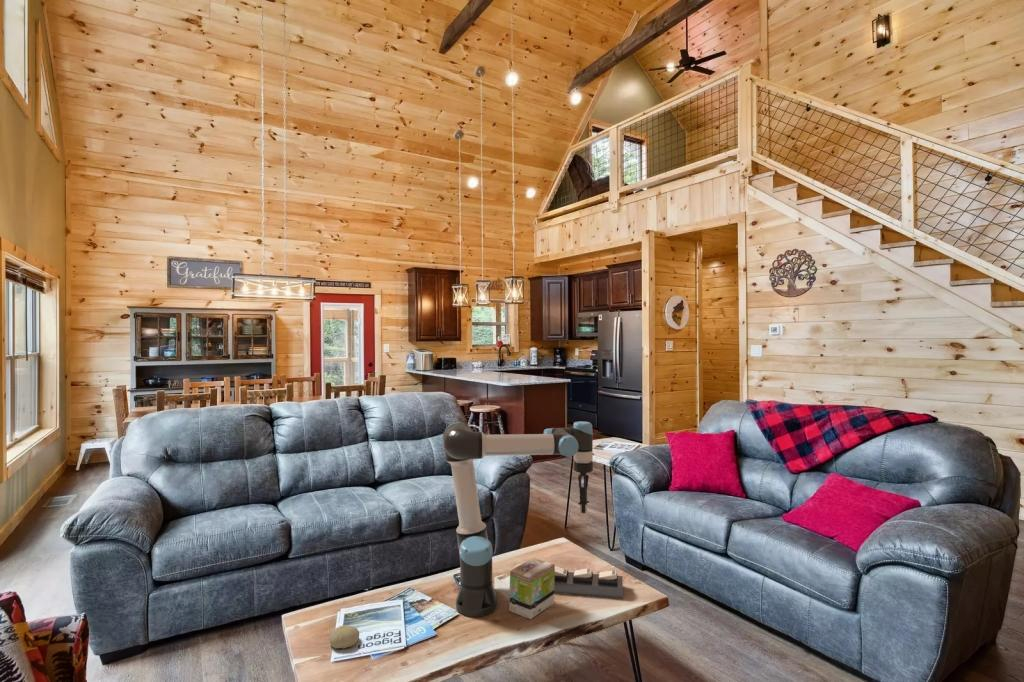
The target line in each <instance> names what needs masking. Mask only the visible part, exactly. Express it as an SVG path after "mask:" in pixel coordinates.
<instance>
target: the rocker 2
mask: <svg viewBox="0 0 1024 682" xmlns="http://www.w3.org/2000/svg"><path fill="white" fill-rule="evenodd" d="M574 571H575V572H574ZM574 571H573V572H574V577H580V578H588V577H591V576H592V572H593V571H592V568H591V567H588V568H581V569H577V570H575V569H574Z"/></svg>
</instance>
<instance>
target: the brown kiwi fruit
mask: <svg viewBox="0 0 1024 682" xmlns="http://www.w3.org/2000/svg"><path fill="white" fill-rule="evenodd" d="M359 639H360V630H359V629H358V628H356V627H354V626H352V625H347V624H346V625H345V624H342V625H340V626H337V627H336V628H335V629H333V630H332V631H331V632H330V634H329V644H330V645H331V647H332V648H334V647H335V648H334V649H336V648H342V649H346V648H345V647H349V646H351V647H353V646H354V645H355V644H356V643H357V642H358V640H359ZM352 645H353V646H352ZM349 648H350V647H349Z"/></svg>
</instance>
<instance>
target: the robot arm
mask: <svg viewBox="0 0 1024 682" xmlns="http://www.w3.org/2000/svg"><path fill="white" fill-rule="evenodd" d="M442 434H443V435H442V441H443V448H444V453H445V460H446V462H447V463H448V464H449V465H450V467H451V474H452V483H453V489H454V495H455V502H456V503H455V504H456V510H457V517H458V526H457V528H456V529H455V530H456V531H455V532H456V539H457V540H456V541H457V548H458V553H459V565H460V566H459V568H460V571H459V572H460V574H459V575H460V578H459V579H460V586H459V590H458V591H457V592H458V593H457V596H456V599H455V610H456V611H457V612H458V614H461V615H463V616H466V617H472V618H473V617H477V618H478V617H484V616H488V615H491V614H493V613H494V612H495V611H496V610H497V609H498V603H499V602H498V597H497V593H496V591H495V587H494V585H493V584H494V583H493V582H494V581H493V554H494V552H493V551H494V549H493V545H492V542H491V541H490V540H489V538H488V537H489V536H488V531H487V524H486V523H485V522H484V521H482V515H481V509H480V503H479V495H478V487H477V480H476V474H475V472H476V471H475V467H474V465H475V463H474V460H479V459H484V458H485V457H487V456H488V457H491V456H494V457H495V456H537V455H540V456H545V455H548V456H549V455H551V456H552V455H553V456H554V455H561V456H563V457H566V458H569V457H573V460H574V461H573V471H574V472H576V473H579V474H578V476H577V480H578V487H579V502H578V503H577V504H578V505H579V518H580V519H579V520H580V521H582V522H583V521H585V522H587V521H588V504H590V503H589V502H590V501H589V500H588V487H589V477H590V476H589V473H592V472H593V470H594V462H593V460H594V457H593V456H595V452H594V451H593V449H594V448H593V443H594V442H593V441H594V439H593V436H594V433H593V424H592V423H591V422H589V421H585V420H584V421H575V422H573V426H571V427H551V428H546V429H544V430H543V433H538V434H537V433H534V434H533V433H532V434H531V433H528V434H527V433H526V434H525V433H524V434H523V433H522V434H520V433H519V434H516V433H515V434H507V433H506V434H485V433H484V432H482V431H473V429H472V427H470V425H468V424H466V423H464V422H458V421H457V422H452V423H451V424H450V425H448V426H447V427H446V428H445V429H444V431H443V433H442ZM587 473H588V474H587Z"/></svg>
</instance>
